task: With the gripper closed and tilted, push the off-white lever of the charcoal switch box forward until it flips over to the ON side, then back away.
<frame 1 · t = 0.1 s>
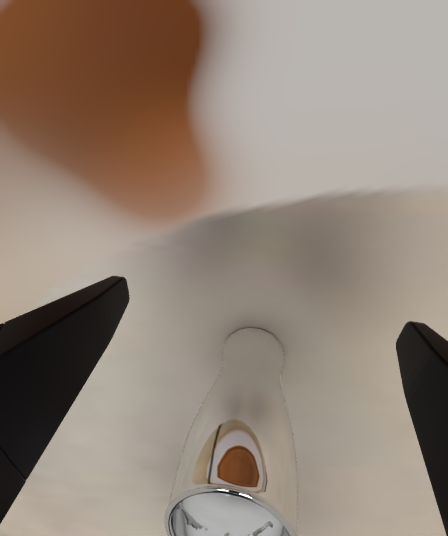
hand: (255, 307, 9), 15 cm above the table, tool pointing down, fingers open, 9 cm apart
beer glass: (253, 353, 28), on the table
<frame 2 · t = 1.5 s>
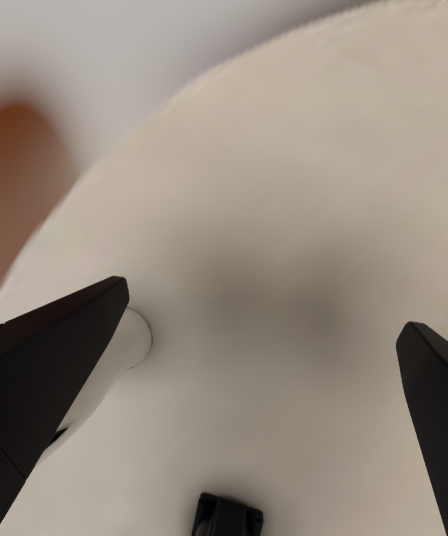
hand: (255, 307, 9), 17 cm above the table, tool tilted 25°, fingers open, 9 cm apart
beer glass: (124, 336, 29), on the table
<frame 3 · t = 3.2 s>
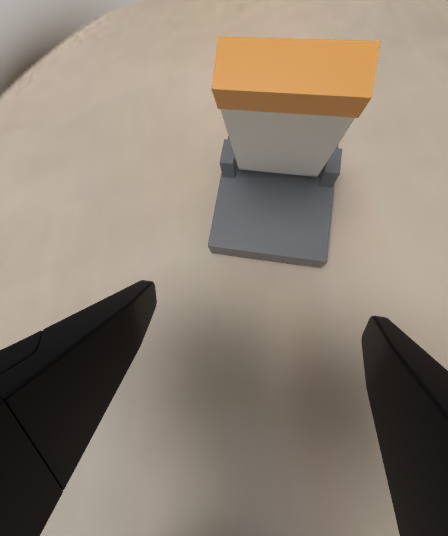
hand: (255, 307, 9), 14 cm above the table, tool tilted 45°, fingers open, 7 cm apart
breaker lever: (282, 134, 17), point 8 cm above the table, hinge at -15.0°
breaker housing: (275, 183, 25), on the table
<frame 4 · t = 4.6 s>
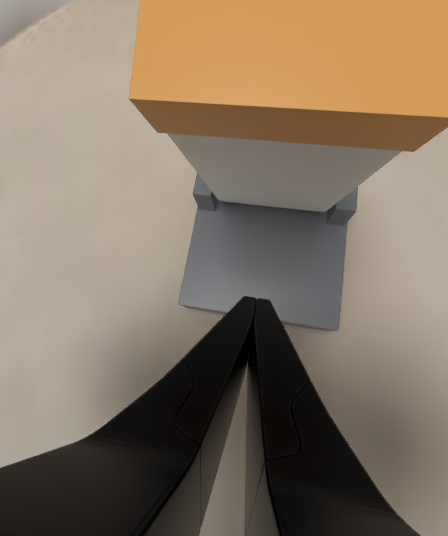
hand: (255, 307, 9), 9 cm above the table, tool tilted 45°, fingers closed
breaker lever: (276, 163, 11), point 8 cm above the table, hinge at -15.0°
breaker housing: (269, 215, 19), on the table
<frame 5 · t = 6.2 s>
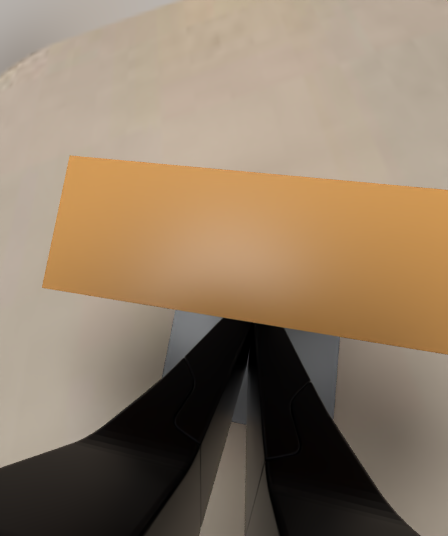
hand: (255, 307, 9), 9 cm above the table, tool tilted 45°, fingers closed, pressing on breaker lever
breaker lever: (259, 278, 10), point 8 cm above the table, hinge at -6.7°, touching gripper
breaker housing: (258, 293, 18), on the table
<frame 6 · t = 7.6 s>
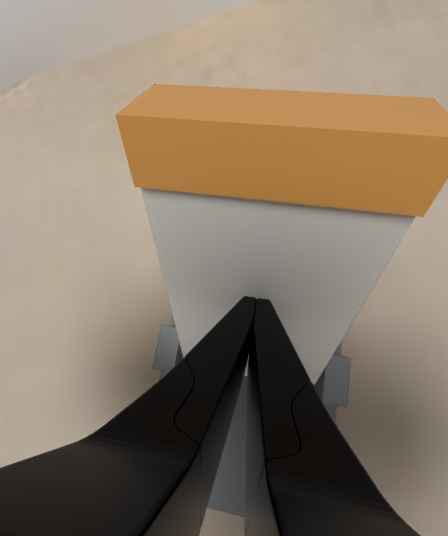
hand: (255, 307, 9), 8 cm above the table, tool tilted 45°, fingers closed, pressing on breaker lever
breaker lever: (257, 294, 10), point 8 cm above the table, hinge at 30.7°, touching gripper
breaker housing: (249, 355, 17), on the table
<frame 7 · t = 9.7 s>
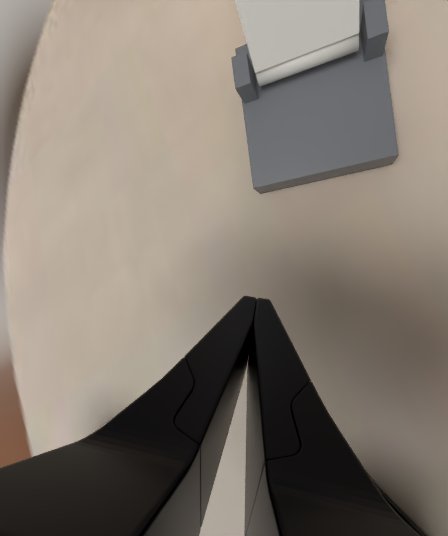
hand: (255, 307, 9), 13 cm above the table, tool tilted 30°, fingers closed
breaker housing: (308, 83, 20), on the table
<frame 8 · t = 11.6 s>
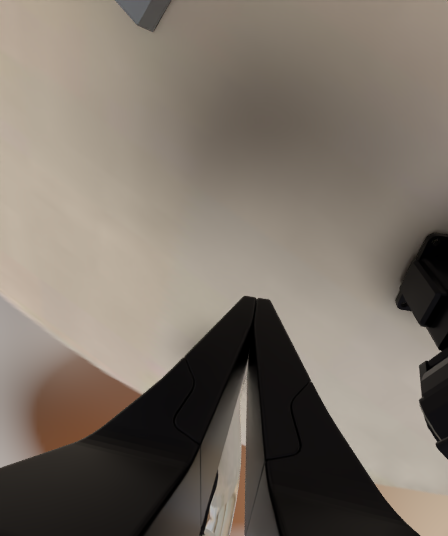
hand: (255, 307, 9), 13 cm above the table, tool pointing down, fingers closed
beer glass: (222, 358, 31), on the table
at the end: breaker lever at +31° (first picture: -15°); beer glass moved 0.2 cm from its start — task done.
